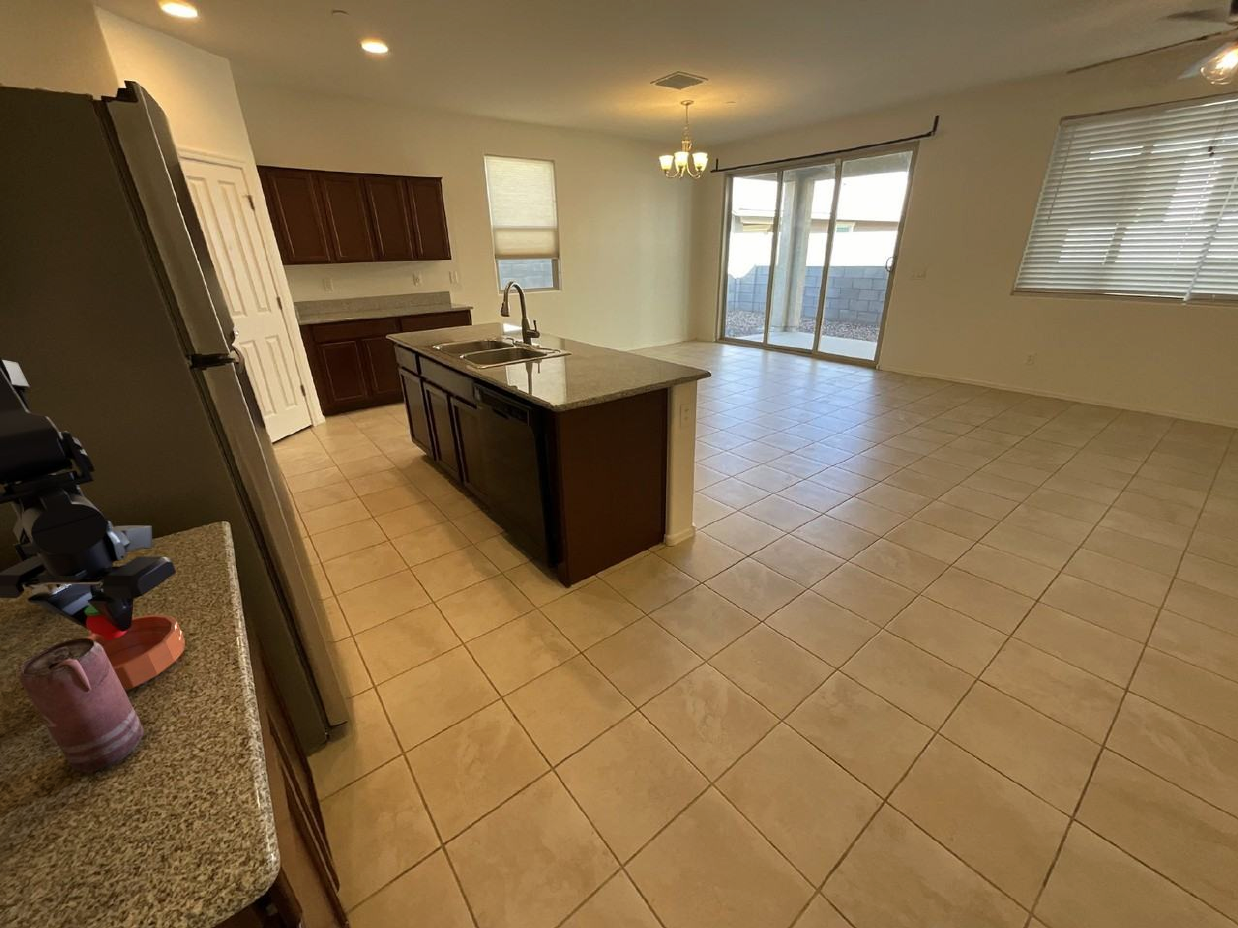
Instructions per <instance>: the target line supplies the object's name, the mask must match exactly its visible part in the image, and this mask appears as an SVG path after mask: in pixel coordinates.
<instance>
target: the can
mask: <svg viewBox="0 0 1238 928" xmlns="http://www.w3.org/2000/svg"><path fill="white" fill-rule="evenodd" d="M18 681H19V682H20V684H21V686H22V688H23V689H24V691H25V692H26V694H27V696H28V697H29V699H30V701H31V702H32V704H33V706H34V707H35V709H36V711H37V712H38V714H39V715H40V717H41V719H42V720H43V721H42V722H44V724H45V725H46V727H47V728H48V731H49V732H50V734H51V736H52V738H53V739H54V741H55V742H56V744H57V745H58V747H59V749H60V750H61V752H62V754H63V755H64V758H65V759H66V760H67V762H68V764H69V765H70V768H71V769H73V770H74V771H77V772H82V773H94V772H98V771H101V770H105V769H107V768H109V767H112V766H113V765H115V764H117V763H119V762H120V761H123V760H124V759H125V758H126V757H128V755H130V754H131V753H132V752H134V750H136V748H137V747H138V746H139V745H140V743H141V741H142V739H143V736H144V734H145V732H144V726H143V725H142V723H141V720H140V719H139V717H138V715H137V713H136V711H135V709H134V707H133V705H132V703H131V701H130V699H129V697H128V694H127V693H126V690H125V691H124V689H123V687H122V685H121V683H120V681H119V679H118V677H117V675H116V673H115V671H114V669H113V667H112V665H111V663H110V661H109V659H108V657H107V655H106V653H105V651H104V649H103V647H102V646H101V645H100V644H99V643H97V642H95V641H93V640H92V639H89V638H85V637H80V638H73V639H68V640H65V641H62V642H59V643H57V644H54V645H52V646H50V647H47V648H45V649H43V650H41V651H39V652H38V653H36V654H34V655H33V656H31V657H30V658H28V659H27V660H26V661H25V662H24V663H23V664H22V666H21V668H20V675H19V680H18Z"/></svg>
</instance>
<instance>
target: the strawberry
mask: <svg viewBox="0 0 1238 928" xmlns="http://www.w3.org/2000/svg"><path fill="white" fill-rule="evenodd" d="M84 612H85V614H86V615H87V616H88V617H87V619H86V626H87V628H88V629H87V630H88V631H89V632H90V633H91V634H92V633H94V634H98V635H100V636H102V637H103V638H104V639H105V640H113V639H116V638H118V637H120V636H122V635H123V634H125V633H126V631H125V632H121V631H120V630H119V629H117V628H116V627H115V626H113V625H112V624H111V623H110V622H109V621H108V620H107V619H106V618H105V617H104V616H103V615H102V614H100V613H99V612H98V611H97V610H96V609H95V608H94V607H93V606H92V605H90V606H89V607H87V608H86V609H85V611H84Z"/></svg>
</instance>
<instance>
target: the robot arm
mask: <svg viewBox="0 0 1238 928" xmlns="http://www.w3.org/2000/svg"><path fill="white" fill-rule="evenodd" d="M30 391H31V387H30V384H29V383H28V380H27V378H26V376H25V374H24V372H23V371H22V369H21V367H20V364H19V362H16V361H12V360H5V359H2V357H0V486H3V489H4V491H2V492H0V505H3V504H6V503H10V504H11V506H12V508H13V510H14V513H16V516H17V517H18V518H17V520H16V522H15V525H14V527H13V529H12V530H13V533H14V534H15V537H16V539H17V540H18V543H17V542H16V543H13V544H12V546H13V547H14V549H15V551H16V554H17V555H18V557H19V558H20V562H19V563H17V564H15V565H13V566H10V567H8V568H6V569H4V570H2V571H1V572H0V599H18V598H19V597H21V596H23V594H24V592H25V590H26V589H25V588H29V589H30V591H31V593H32V594H33V595H31V596H29V597H28V598H27V602H29V603H30V604H35V605H37V606H40V607H43V608H44V609H46V610H49V611H51V612H53V613H54V614H57V615H58V616H59V615H60V616H62V617H63V618H65V619H67V620H69V621H71V622H73V623H75V624H76V625H78V626H79V627H82V628H84V629H86V630H88V628H87V626H86V619H87V617H88V616H87V615H86V614H85V612H84V611H85V609H86V608H87V607H89V606H90V605H92V606H93V607H94V608H95V609H96V610H97V611H98V612H99V613H100V614H102V615H103V616H104V617H105V618H106V619H107V620H108V621H109V622H110V623H111V624H112V625H113V626H115V627H116V628H117V629H119V630H120V631H121V632H125V631H126V630H128V629H129V628H130V627H131V625H132V618H133V613H134V601H135V599H138V598H140V597H143V596H144V595H146V594H147V593H149V592H150V591H152V590H154V589H155V588H156V587H158V586H160V585H161V584H162V583H163V582H165V581H166V580H168V579H169V578H171V577H173V576H174V575H176V574H177V570H176V566H175V564H174V562H173V559H172V558H170V557H167V556H156V555H155V556H153V555H151V556H150V555H149V556H148V555H147V556H145V555H144V556H143V555H141V556H139V555H138V556H136V557H135V558H133V559H131V560H130V561H128V562H125V564H122V565H119V566H115V565H114V563H115V562H120V561H122V560H124V559H125V558H127V557H128V556H129V555H128V552H131V551H137V550H142V549H144V550H149V549H152V548H153V527H152V525H147V524H146V525H142V524H141V525H132V524H131V525H130V524H129V525H113V523H112V522H111V521H110V520H107V519H106V517H105V515H104V514H103V513H102V512H101V511H100V510H99V509H98V508H97V507H96V506H95V505H94V504H93V503H92V502H91V501H90V500H89V499H88V498H86V497H85V495H84V493H83V491H82V488H81V486H80V485H84V484H87V483H92V482H95V480H94V478H93V475H92V474H91V473H94V472H95V466H94V465H93V463H92V461H91V459H90V458H89V456H88V454H87V453H86V450H85V449H84V448H83V446H82V444H81V441H79V439H78V438H76V437H73V436H72V434H71V433H70V432H68V431H67V430H64V431H60V430H59V429H58V427H57V426H56V424H55V423H54V422H53V421H52V419H51V418H50V417H49V416H45V415H42V414H38V413H34V412H30V411H29V410H30V405H29V403H28V400H27V398H26V395H25V394H30ZM72 461H73V462H72ZM73 463H74V464H73ZM74 465H75V466H76V469H78V471H77V470H73V469H74V468H75V466H74ZM78 472H79V473H78ZM4 485H5V486H4ZM24 587H25V588H24Z"/></svg>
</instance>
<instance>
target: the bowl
mask: <svg viewBox="0 0 1238 928" xmlns="http://www.w3.org/2000/svg"><path fill="white" fill-rule="evenodd" d="M84 638H89V639H92V640H93V641H95V642H97V643H99V644H100V645H101V646H102V647H103V649H104V651H105V653H106V655H107V657H108V659H109V661H110V663H111V665H112V667H113V669H114V671H115V673H116V675H117V677H118V679H119V681H120V683H121V685H122V687H123V689H124V691H125V692H126V691H128V690H130V689H134V688H136V687H138V686H139V685H141V684H143V683H145V682H147V681H149V680H150V679H151V680H152V679H153V678H155V677H156V676H158V675H159V674H161V673H162V672H163V671H164V670H167V668H169V667H170V666H172V664H174V663H175V662H176V661H177V660H178V659H179V657H180V656H181V655H182V653H184V651H185V643H186V640H185V637H184V635H183V632H182V630H181V628H180V625H179V623H178V621H177V620H176V619H175V618H174V617H172V616H171V615H169V614H159V613H155V614H154V613H153V614H147V615H141V616H135V617H132V625H131V627H130V628H129V629H128V630H126V633H125V634H123V635H122V636H120V637H118V638H116V639H113V640H105V639H104V638H103V637H102V636H100V635H98V634H94V633H92V632H91V633H90V634H88V635H87V636H85V637H84Z"/></svg>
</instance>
